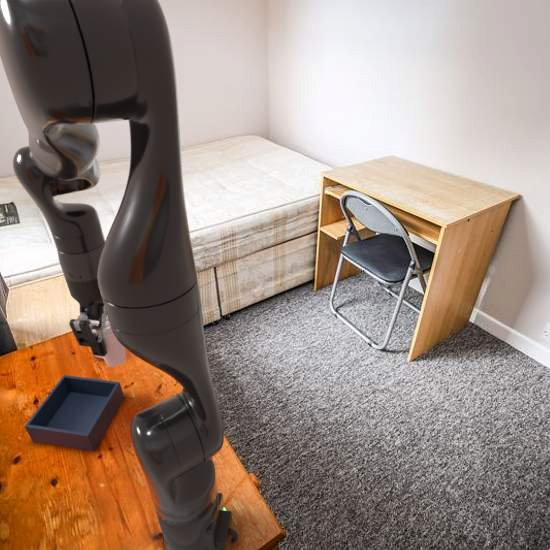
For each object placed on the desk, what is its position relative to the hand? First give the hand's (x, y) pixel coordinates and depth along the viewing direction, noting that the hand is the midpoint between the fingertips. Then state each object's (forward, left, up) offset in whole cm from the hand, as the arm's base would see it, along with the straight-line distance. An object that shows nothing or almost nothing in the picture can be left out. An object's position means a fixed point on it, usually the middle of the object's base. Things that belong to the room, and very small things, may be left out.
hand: (110, 340), depth 73 cm
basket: (+10, +3, -21) cm, 24 cm away
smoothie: (0, 0, -5) cm, 5 cm away
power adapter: (+14, -19, -22) cm, 32 cm away
